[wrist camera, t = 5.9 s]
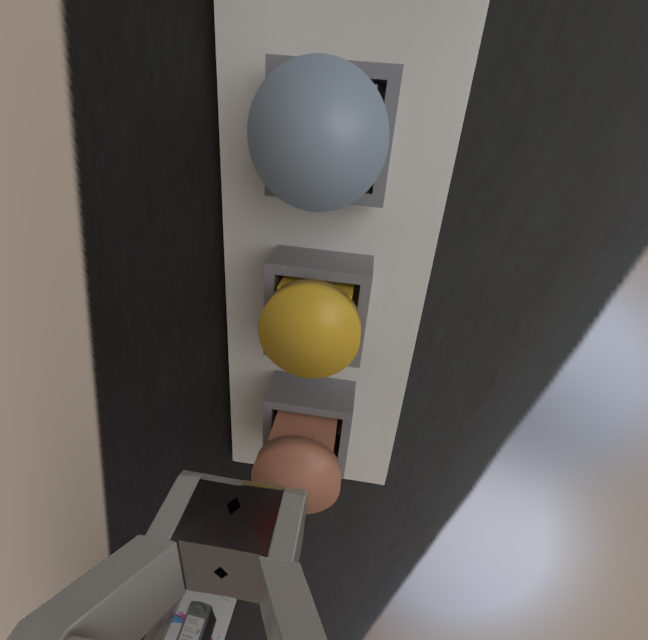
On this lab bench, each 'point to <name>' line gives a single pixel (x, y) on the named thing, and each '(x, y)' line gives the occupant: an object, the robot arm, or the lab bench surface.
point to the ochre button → (310, 327)
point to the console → (345, 223)
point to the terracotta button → (301, 458)
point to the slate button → (318, 132)
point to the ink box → (195, 618)
